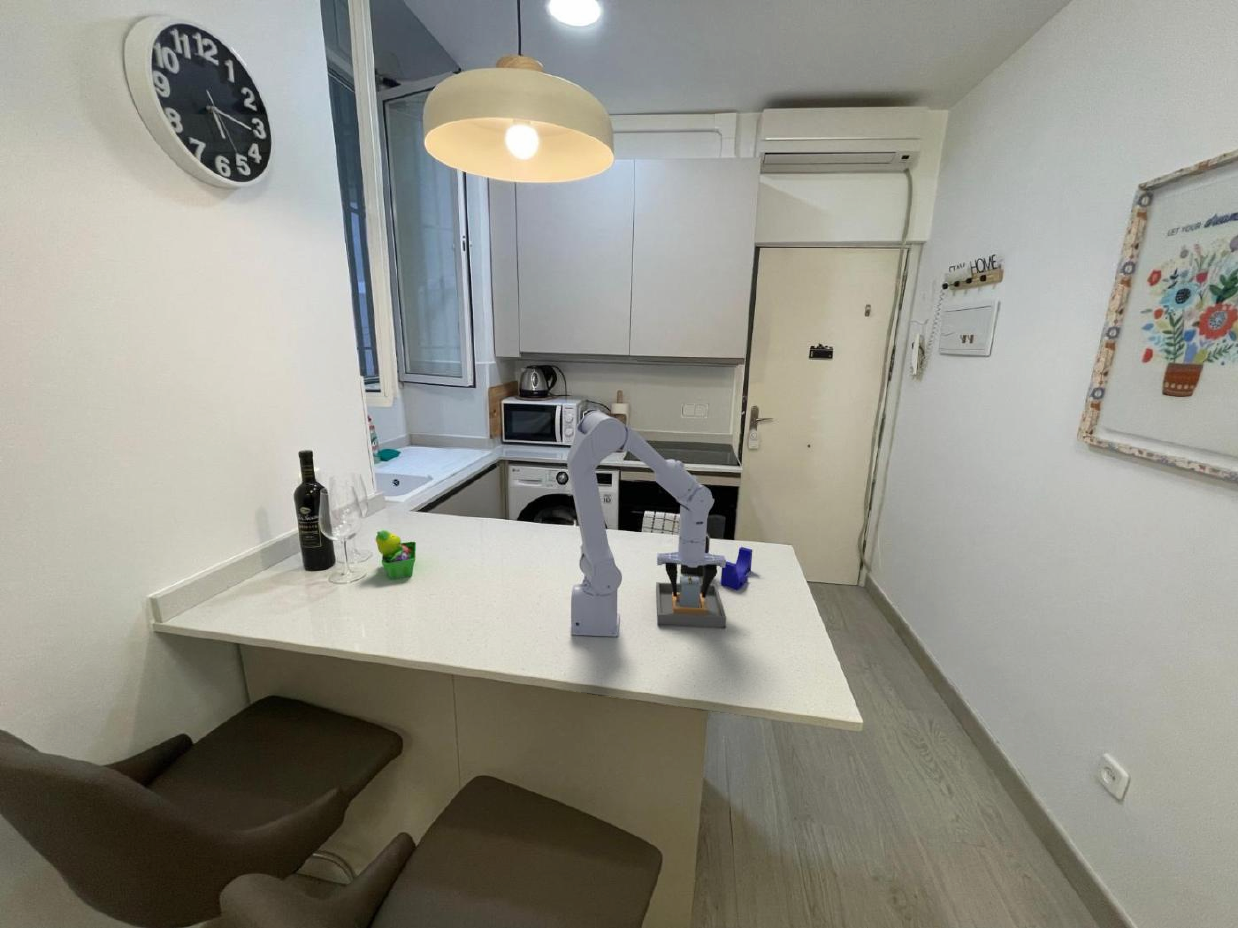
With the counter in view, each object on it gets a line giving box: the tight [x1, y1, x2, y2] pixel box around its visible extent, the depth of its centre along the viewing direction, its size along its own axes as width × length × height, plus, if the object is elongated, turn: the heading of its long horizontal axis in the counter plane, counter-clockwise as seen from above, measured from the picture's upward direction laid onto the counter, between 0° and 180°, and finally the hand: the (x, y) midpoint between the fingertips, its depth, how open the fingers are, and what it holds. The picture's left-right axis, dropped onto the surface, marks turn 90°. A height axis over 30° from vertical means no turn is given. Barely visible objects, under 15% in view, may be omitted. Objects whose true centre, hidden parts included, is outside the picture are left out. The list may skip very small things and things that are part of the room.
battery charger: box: [679, 531, 711, 577], centre depth 125 cm, size 7×4×11 cm, turn 73°
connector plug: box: [679, 575, 701, 608], centre depth 108 cm, size 4×4×7 cm
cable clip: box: [720, 546, 754, 591], centre depth 123 cm, size 12×4×6 cm, turn 144°
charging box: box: [655, 581, 727, 629], centre depth 109 cm, size 14×14×2 cm
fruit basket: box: [375, 529, 417, 580], centre depth 124 cm, size 11×9×11 cm
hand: (689, 594), depth 108 cm, fingers open, 6 cm apart
